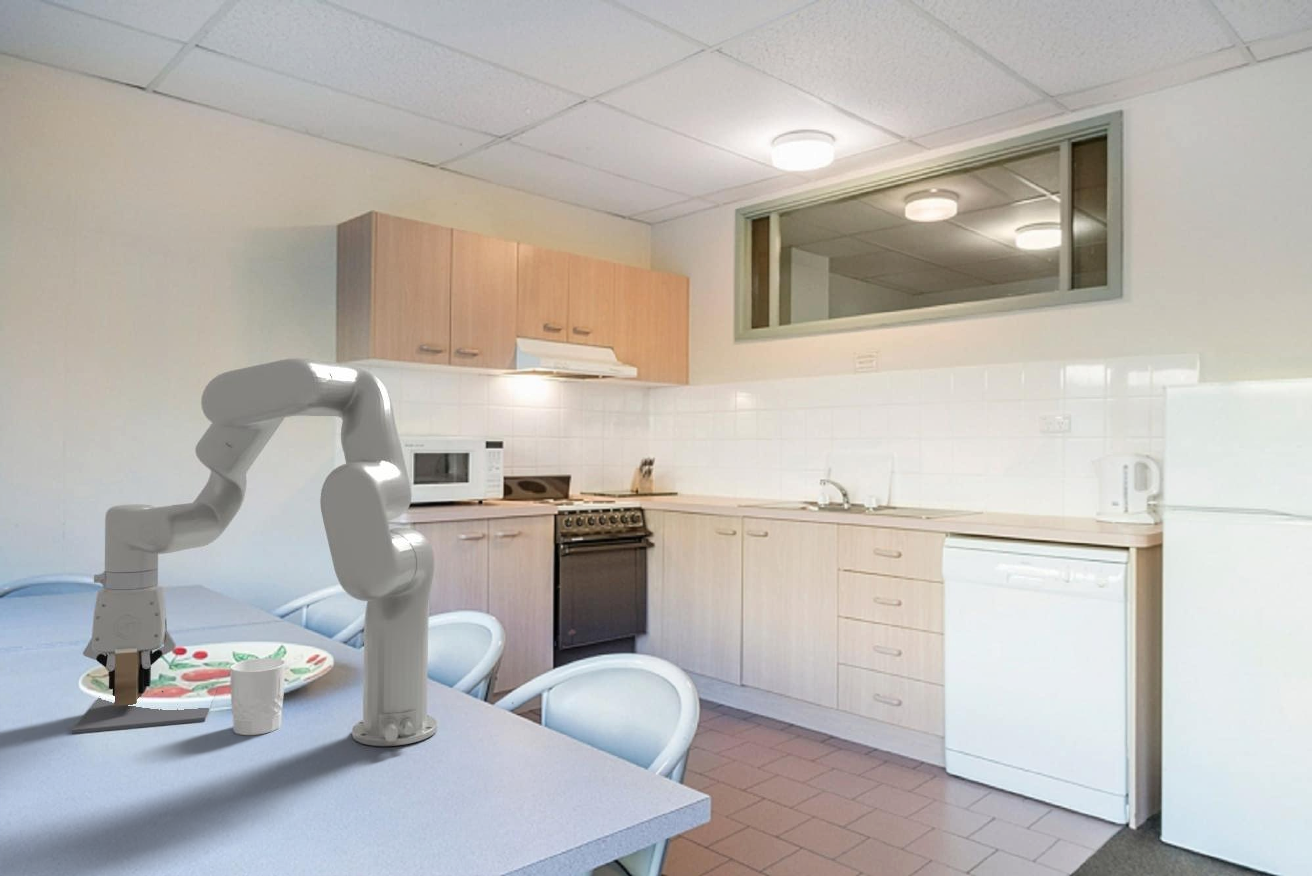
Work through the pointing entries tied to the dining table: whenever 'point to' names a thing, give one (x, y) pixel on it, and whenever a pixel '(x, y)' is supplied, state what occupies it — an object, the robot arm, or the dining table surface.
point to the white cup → (257, 695)
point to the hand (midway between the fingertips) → (129, 691)
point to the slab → (127, 676)
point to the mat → (133, 717)
